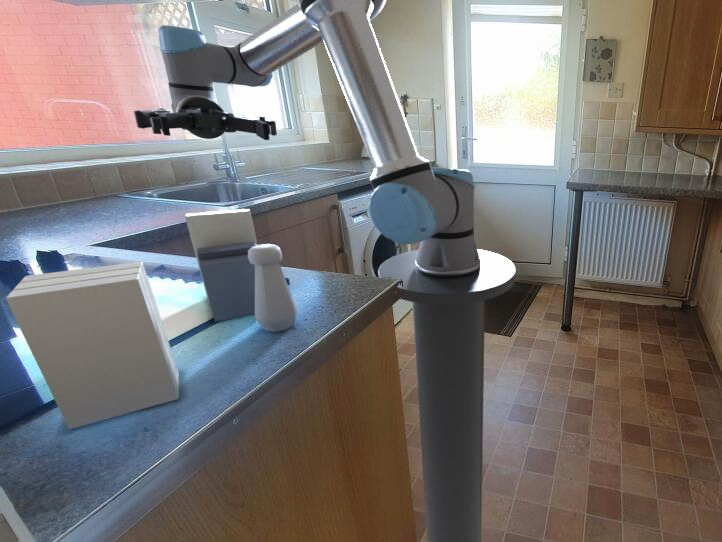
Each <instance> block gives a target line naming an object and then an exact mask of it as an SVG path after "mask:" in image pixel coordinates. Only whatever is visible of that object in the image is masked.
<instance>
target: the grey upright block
mask: <svg viewBox="0 0 722 542" xmlns="http://www.w3.org/2000/svg"><path fill="white" fill-rule="evenodd" d="M257 245H258V243H257V244H256V243H255V242H246V243H238V244H229V245H221V246H213V247H204V248H197V254H198V258H199V264H200V268H201V272H202V276H203V279H204V283H205V287H206V290H207V294H208V298H209V301H208V302H209V305H210V308H211V312H212V316H213V319H214V322H215V323H216V322H222V321H227V320H231V319H236V318H242V317H246V316H251V315H255V265H254V264H251V263H250V262H249V259H248V250H249V249H250V248H252V247H254V246H257ZM202 276H201V277H202ZM205 287H204V288H205ZM208 298H207V299H208Z"/></svg>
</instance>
